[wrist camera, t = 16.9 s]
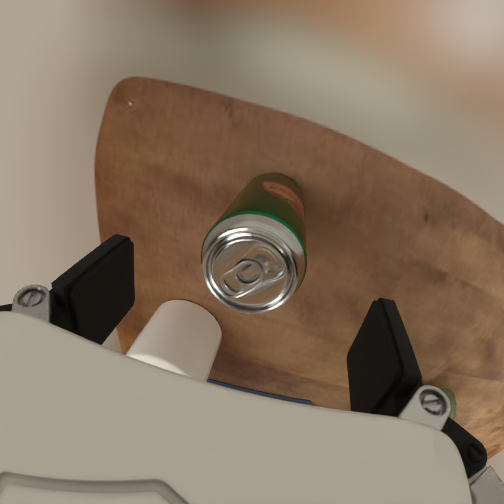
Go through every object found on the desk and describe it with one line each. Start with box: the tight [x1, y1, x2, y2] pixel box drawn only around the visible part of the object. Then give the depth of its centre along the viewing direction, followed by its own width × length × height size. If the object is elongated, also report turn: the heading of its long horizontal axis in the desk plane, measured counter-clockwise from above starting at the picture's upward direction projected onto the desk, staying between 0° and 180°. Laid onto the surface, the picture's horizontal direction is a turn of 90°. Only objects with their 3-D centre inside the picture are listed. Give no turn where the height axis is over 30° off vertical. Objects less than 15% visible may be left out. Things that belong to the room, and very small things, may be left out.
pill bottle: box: [126, 300, 222, 382], centre depth 26 cm, size 8×8×11 cm
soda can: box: [201, 173, 307, 314], centre depth 19 cm, size 5×5×12 cm
